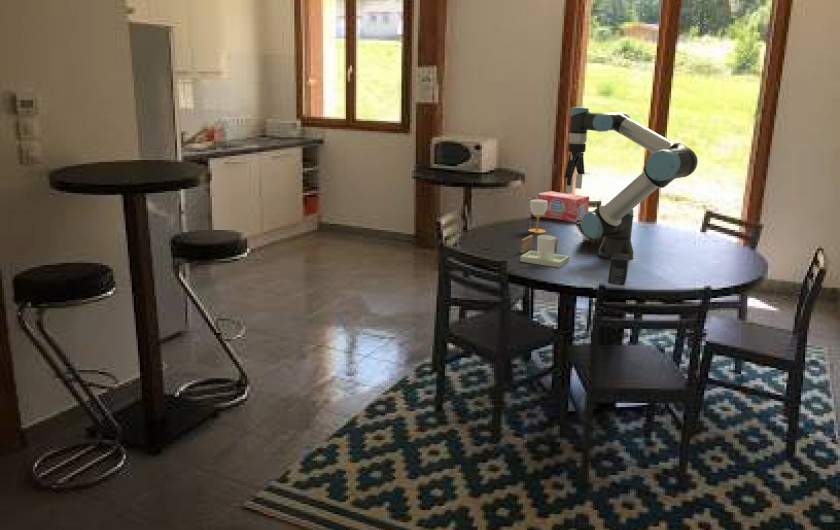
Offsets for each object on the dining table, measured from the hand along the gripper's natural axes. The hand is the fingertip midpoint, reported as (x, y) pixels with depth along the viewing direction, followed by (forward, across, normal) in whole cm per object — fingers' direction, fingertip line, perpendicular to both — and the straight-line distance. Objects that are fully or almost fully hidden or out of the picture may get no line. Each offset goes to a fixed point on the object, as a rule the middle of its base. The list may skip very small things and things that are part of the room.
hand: (573, 190), depth 306 cm
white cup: (+28, +20, -4) cm, 35 cm away
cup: (+29, -33, -28) cm, 52 cm away
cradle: (+29, +7, -12) cm, 32 cm away
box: (+29, -73, -28) cm, 83 cm away
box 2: (+29, +33, +31) cm, 54 cm away
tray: (+29, +21, -4) cm, 36 cm away
